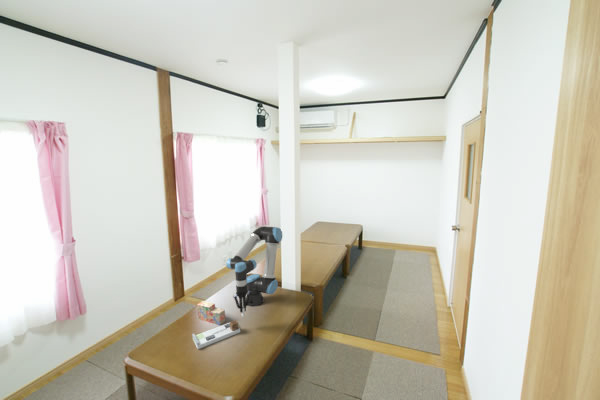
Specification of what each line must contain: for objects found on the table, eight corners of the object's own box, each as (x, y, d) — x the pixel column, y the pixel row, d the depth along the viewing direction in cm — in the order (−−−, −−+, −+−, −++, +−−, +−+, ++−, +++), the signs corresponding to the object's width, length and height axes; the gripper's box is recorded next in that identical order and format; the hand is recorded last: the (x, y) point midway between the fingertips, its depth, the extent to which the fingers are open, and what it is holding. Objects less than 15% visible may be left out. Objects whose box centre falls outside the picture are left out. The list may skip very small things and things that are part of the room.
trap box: (233, 324, 204) (233, 318, 203) (240, 332, 194) (239, 326, 193) (192, 339, 187) (192, 333, 187) (197, 349, 177) (197, 343, 177)
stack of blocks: (225, 321, 208) (224, 305, 206) (219, 325, 203) (218, 310, 201) (204, 315, 217) (202, 300, 215) (198, 319, 212) (196, 304, 210)
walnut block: (236, 325, 197) (235, 319, 197) (238, 328, 194) (238, 322, 193) (229, 328, 195) (229, 322, 194) (232, 331, 191) (231, 325, 190)
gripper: (247, 280, 201) (249, 310, 204) (230, 285, 193) (232, 316, 196) (252, 283, 195) (253, 315, 198) (234, 289, 187) (236, 321, 190)
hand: (243, 316), depth 197 cm, fingers closed
